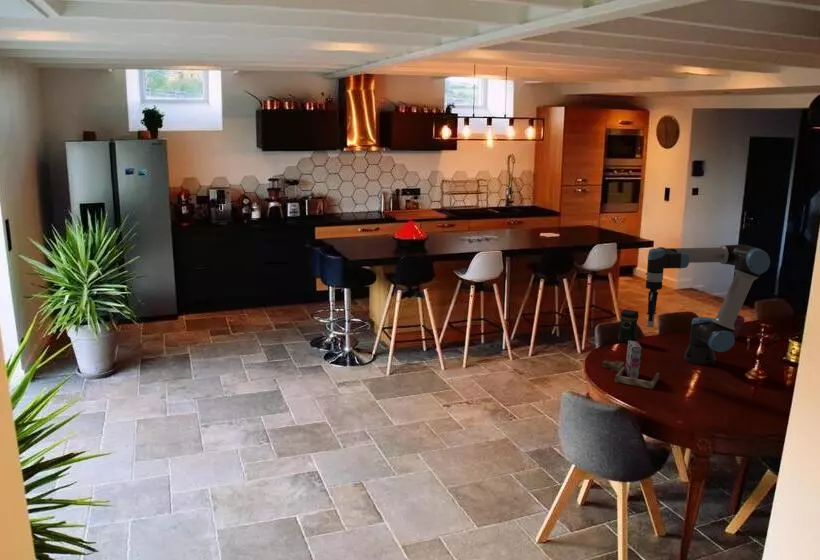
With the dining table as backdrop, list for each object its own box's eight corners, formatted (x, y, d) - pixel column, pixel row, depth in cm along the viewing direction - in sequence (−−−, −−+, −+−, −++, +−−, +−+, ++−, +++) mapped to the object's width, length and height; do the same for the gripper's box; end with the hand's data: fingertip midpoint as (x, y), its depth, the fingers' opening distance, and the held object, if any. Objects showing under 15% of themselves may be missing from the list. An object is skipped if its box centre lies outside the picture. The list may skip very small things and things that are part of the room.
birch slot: (658, 379, 333) (659, 373, 332) (652, 388, 320) (653, 382, 319) (622, 372, 341) (622, 366, 341) (614, 381, 328) (615, 375, 328)
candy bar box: (639, 380, 331) (642, 347, 328) (628, 379, 332) (631, 347, 328) (635, 372, 342) (638, 340, 338) (624, 371, 343) (627, 340, 339)
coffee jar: (638, 341, 391) (641, 310, 387) (633, 345, 385) (636, 313, 381) (621, 338, 397) (624, 307, 393) (616, 341, 391) (619, 310, 387)
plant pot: (738, 334, 409) (741, 313, 406) (744, 341, 396) (747, 320, 393) (713, 332, 412) (715, 311, 409) (717, 339, 399) (720, 318, 396)
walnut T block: (623, 366, 350) (624, 362, 349) (619, 372, 341) (619, 367, 341) (605, 363, 354) (606, 358, 353) (600, 368, 345) (601, 364, 345)
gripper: (648, 277, 342) (645, 322, 347) (643, 282, 331) (640, 329, 336) (664, 278, 339) (660, 324, 344) (660, 284, 328) (656, 331, 333)
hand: (650, 326), depth 340 cm, fingers closed
